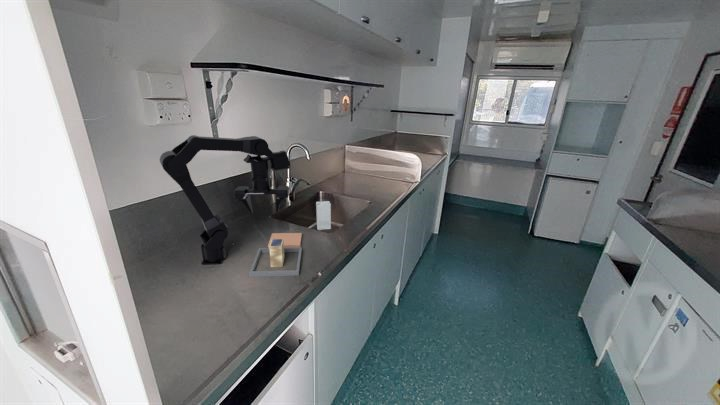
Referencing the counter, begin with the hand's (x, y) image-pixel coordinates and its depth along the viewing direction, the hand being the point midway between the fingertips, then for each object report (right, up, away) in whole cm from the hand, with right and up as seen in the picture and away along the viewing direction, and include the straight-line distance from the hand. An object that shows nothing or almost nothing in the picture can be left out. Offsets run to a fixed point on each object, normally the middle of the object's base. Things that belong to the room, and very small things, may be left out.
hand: (264, 213), depth 107 cm
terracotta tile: (+6, -12, +8) cm, 15 cm away
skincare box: (+19, -7, +21) cm, 29 cm away
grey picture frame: (+7, -17, -6) cm, 19 cm away
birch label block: (+7, -17, -6) cm, 19 cm away
